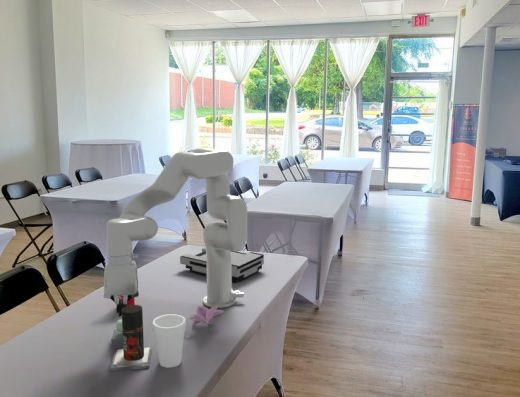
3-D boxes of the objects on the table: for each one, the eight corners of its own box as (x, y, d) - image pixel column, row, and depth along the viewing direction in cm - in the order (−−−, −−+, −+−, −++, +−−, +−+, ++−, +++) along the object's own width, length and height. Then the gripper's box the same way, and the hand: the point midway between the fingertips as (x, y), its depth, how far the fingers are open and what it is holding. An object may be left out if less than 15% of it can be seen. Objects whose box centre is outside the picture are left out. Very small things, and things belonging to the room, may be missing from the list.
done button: (131, 325, 157) (131, 318, 157) (130, 331, 153) (130, 324, 153) (117, 326, 157) (117, 319, 156) (115, 332, 153) (115, 325, 152)
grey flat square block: (152, 349, 151) (151, 344, 151) (149, 368, 141) (149, 362, 140) (115, 351, 150) (115, 346, 149) (109, 370, 139) (109, 365, 139)
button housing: (137, 336, 160) (136, 327, 159) (134, 346, 153) (134, 337, 152) (115, 337, 159) (114, 329, 158) (111, 348, 152) (111, 339, 151)
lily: (230, 328, 168) (223, 301, 171) (223, 330, 157) (215, 300, 159) (197, 337, 169) (190, 310, 171) (188, 340, 158) (181, 311, 160)
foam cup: (156, 354, 148) (155, 314, 146) (187, 353, 149) (186, 313, 147) (152, 371, 139) (150, 328, 137) (185, 369, 140) (184, 327, 137)
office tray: (208, 259, 240) (208, 243, 239) (263, 271, 223) (263, 254, 222) (180, 271, 223) (179, 254, 222) (237, 285, 206) (237, 266, 205)
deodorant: (148, 353, 147) (146, 306, 144) (136, 362, 142) (134, 314, 139) (131, 349, 149) (129, 303, 146) (119, 358, 144) (117, 311, 141)
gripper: (146, 254, 155) (147, 309, 158) (97, 255, 153) (99, 311, 156) (143, 261, 148) (145, 318, 151) (92, 263, 146) (95, 320, 149)
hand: (122, 314), depth 154 cm, fingers closed
